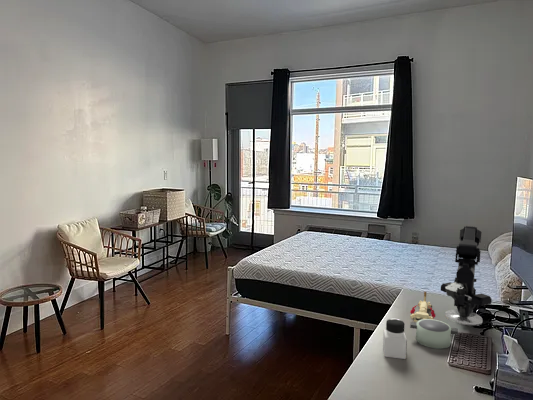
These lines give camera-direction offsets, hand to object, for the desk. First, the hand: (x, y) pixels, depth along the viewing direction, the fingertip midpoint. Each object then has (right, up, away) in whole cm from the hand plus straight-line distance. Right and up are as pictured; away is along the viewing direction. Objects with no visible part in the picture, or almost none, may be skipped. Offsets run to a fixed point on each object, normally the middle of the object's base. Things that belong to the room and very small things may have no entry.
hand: (463, 314), depth 154 cm
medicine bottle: (-32, -10, -14) cm, 36 cm away
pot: (-14, -8, -5) cm, 17 cm away
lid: (0, -2, 0) cm, 2 cm away
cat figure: (-9, -6, +17) cm, 21 cm away
